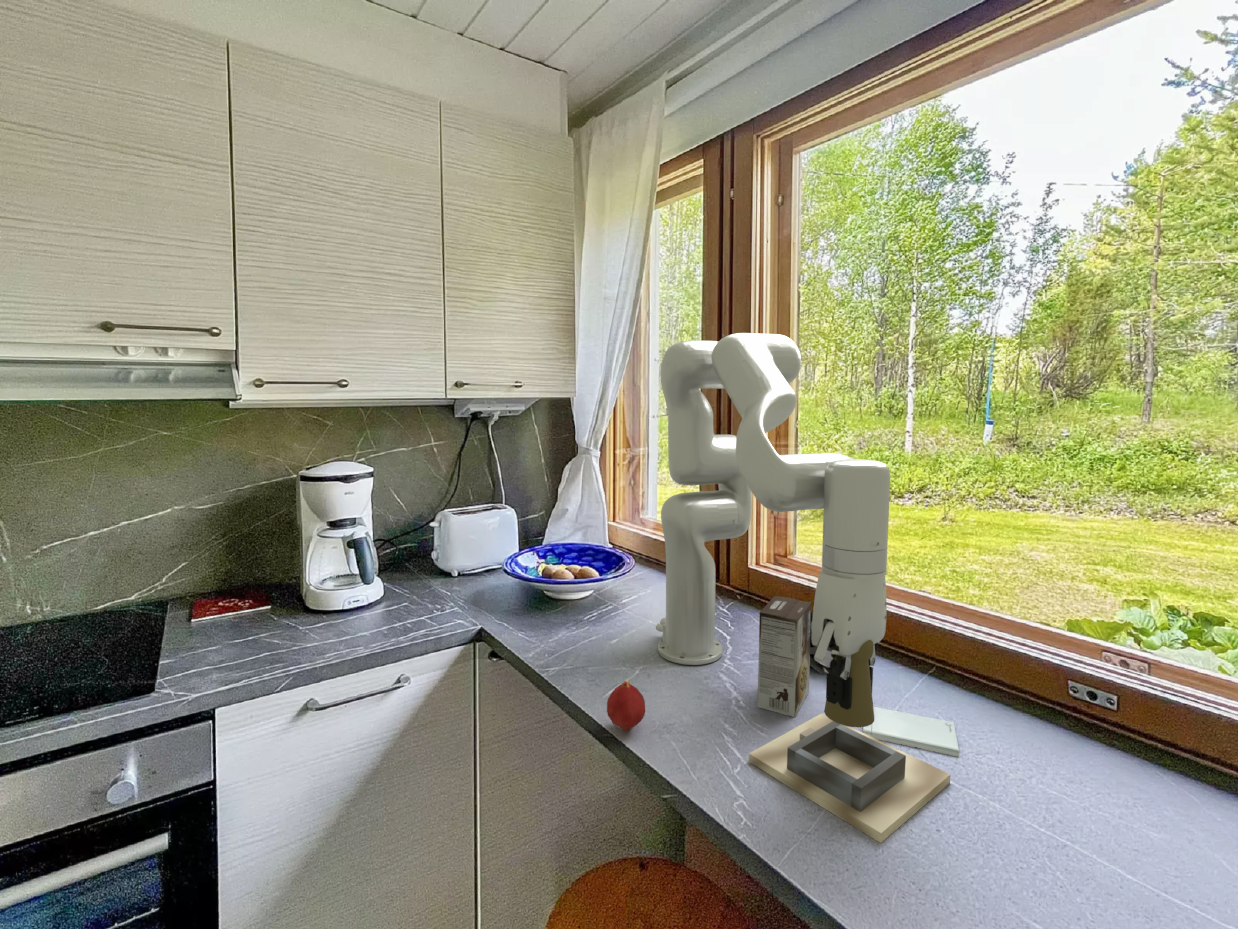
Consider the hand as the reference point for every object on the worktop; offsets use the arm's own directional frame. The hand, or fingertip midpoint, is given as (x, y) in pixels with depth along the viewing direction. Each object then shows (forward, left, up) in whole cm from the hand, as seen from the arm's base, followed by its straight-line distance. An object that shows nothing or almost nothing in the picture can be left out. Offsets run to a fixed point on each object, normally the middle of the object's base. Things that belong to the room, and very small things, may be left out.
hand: (849, 697), depth 76 cm
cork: (0, 0, -2) cm, 2 cm away
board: (-1, +2, -12) cm, 12 cm away
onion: (-27, -15, -12) cm, 33 cm away
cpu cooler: (-20, +27, -12) cm, 36 cm away
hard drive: (-1, +18, -12) cm, 22 cm away
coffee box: (-18, +11, -12) cm, 24 cm away
